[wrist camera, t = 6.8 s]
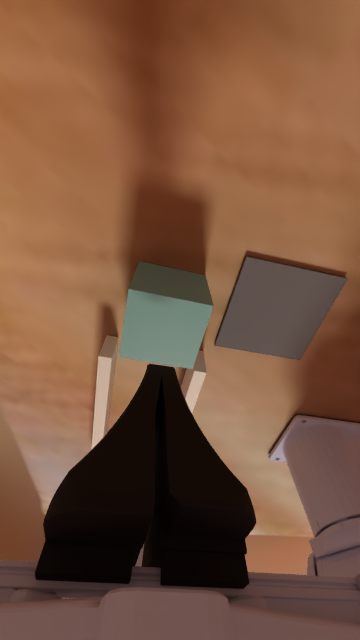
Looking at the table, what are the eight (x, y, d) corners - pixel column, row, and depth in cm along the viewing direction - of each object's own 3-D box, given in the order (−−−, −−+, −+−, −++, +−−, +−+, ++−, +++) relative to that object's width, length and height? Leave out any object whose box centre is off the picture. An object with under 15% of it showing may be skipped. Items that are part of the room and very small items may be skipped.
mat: (345, 277, 20) (347, 278, 19) (298, 357, 24) (299, 360, 23) (245, 255, 19) (246, 256, 18) (214, 343, 23) (214, 345, 22)
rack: (203, 351, 23) (206, 372, 21) (167, 459, 32) (166, 483, 29) (106, 335, 22) (98, 356, 20) (96, 451, 31) (89, 476, 28)
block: (205, 274, 19) (213, 306, 15) (189, 329, 22) (192, 369, 18) (139, 260, 19) (128, 288, 15) (130, 318, 21) (118, 357, 17)
